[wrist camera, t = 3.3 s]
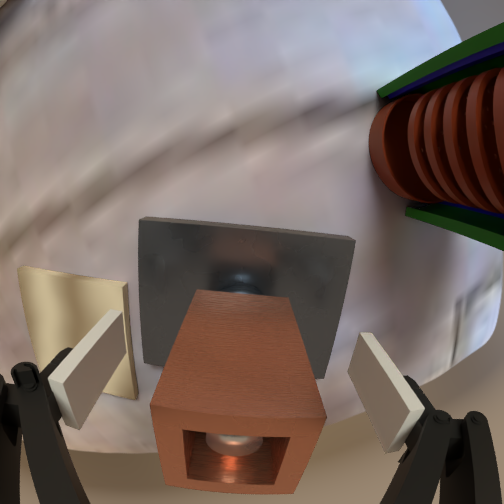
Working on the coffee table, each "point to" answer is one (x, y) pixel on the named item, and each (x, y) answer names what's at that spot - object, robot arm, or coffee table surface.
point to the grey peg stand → (240, 285)
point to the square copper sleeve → (237, 396)
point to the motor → (448, 138)
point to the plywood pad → (74, 317)
